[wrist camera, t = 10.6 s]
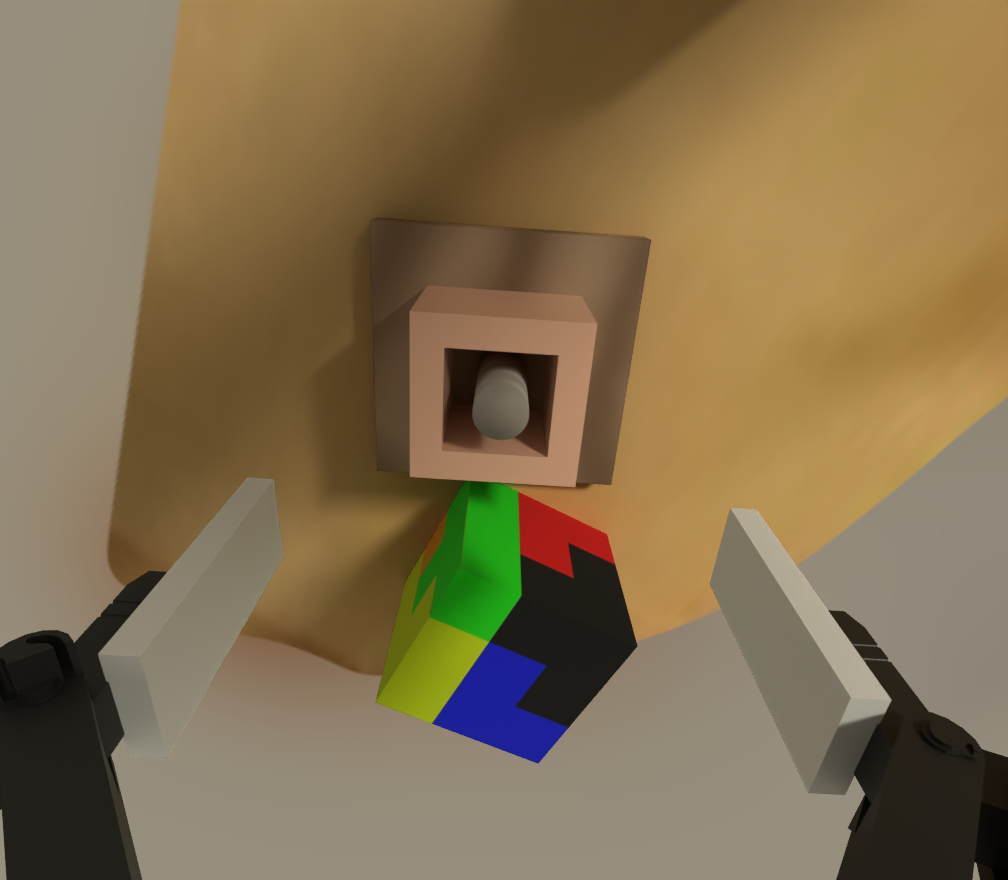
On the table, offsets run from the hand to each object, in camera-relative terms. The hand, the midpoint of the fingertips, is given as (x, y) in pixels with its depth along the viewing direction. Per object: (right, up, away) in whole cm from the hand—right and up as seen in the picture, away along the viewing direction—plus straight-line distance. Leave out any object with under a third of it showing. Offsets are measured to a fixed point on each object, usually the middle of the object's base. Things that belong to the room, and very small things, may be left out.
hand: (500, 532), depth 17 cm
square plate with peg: (0, +7, +16) cm, 18 cm away
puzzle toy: (0, -5, +22) cm, 23 cm away
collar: (0, +7, +15) cm, 16 cm away
